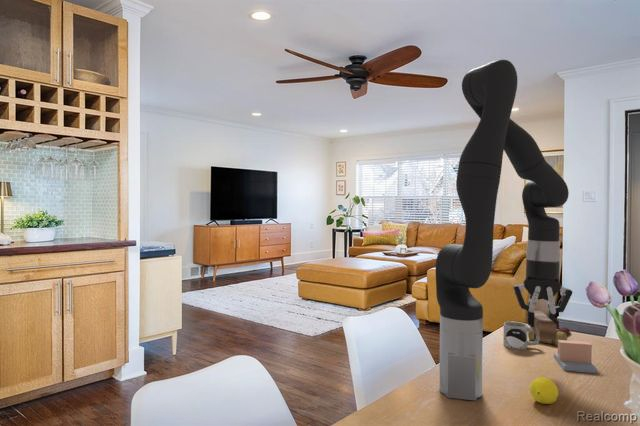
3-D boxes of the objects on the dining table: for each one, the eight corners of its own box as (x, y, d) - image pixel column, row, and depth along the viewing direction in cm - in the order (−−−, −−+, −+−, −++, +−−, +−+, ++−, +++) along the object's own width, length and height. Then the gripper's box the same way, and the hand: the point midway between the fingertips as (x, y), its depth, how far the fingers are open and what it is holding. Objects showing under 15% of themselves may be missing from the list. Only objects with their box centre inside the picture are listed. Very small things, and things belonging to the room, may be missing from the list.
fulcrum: (596, 373, 113) (597, 349, 113) (564, 370, 115) (564, 347, 115) (583, 359, 124) (583, 337, 124) (553, 356, 126) (554, 335, 126)
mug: (504, 348, 133) (505, 326, 133) (502, 342, 140) (502, 321, 140) (541, 351, 131) (541, 329, 130) (537, 345, 137) (537, 323, 137)
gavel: (553, 320, 156) (585, 326, 148) (553, 333, 156) (585, 340, 148) (528, 326, 142) (562, 333, 134) (527, 341, 142) (561, 349, 134)
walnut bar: (556, 340, 104) (556, 324, 104) (539, 338, 105) (540, 323, 105) (541, 324, 120) (541, 311, 120) (526, 323, 121) (527, 310, 121)
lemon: (535, 397, 100) (537, 372, 101) (562, 404, 96) (563, 379, 97) (523, 402, 95) (525, 376, 96) (551, 410, 91) (552, 383, 92)
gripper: (514, 258, 111) (512, 328, 111) (578, 261, 107) (576, 334, 107) (510, 256, 118) (508, 321, 118) (569, 259, 114) (567, 326, 114)
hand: (540, 327), depth 112 cm, fingers closed on walnut bar, 3 cm apart
